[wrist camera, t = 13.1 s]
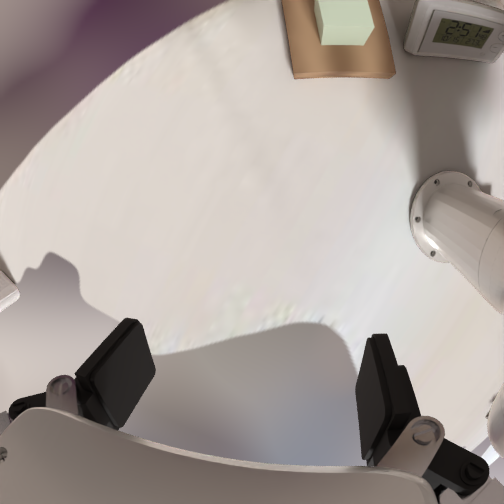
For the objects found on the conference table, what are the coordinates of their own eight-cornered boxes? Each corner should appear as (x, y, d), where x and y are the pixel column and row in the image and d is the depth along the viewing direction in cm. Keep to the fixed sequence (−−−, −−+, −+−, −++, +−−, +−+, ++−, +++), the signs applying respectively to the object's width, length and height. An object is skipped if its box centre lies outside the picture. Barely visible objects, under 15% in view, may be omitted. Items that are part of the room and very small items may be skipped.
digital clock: (397, 54, 26) (427, 26, 16) (389, 0, 23) (411, -37, 13) (494, 82, 24) (537, 73, 14) (485, 30, 20) (522, 12, 11)
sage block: (355, 11, 23) (363, -11, 17) (363, 45, 24) (374, 27, 19) (314, 10, 24) (315, -13, 18) (321, 45, 26) (323, 25, 20)
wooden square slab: (371, 1, 24) (376, -8, 21) (389, 78, 28) (395, 73, 25) (281, 1, 26) (279, -9, 23) (294, 79, 30) (293, 73, 27)
